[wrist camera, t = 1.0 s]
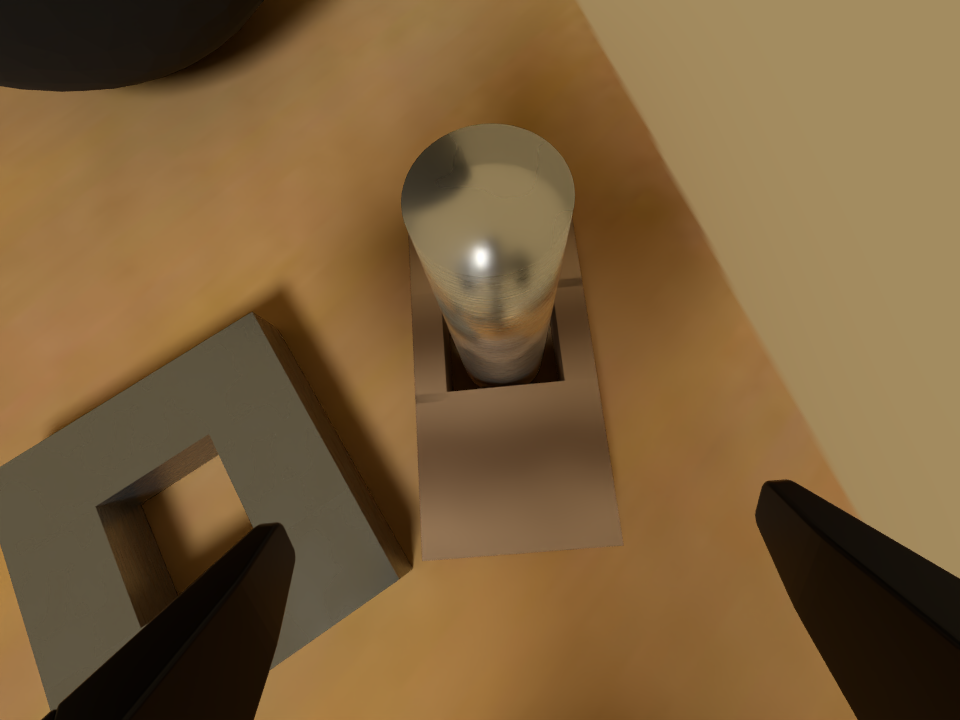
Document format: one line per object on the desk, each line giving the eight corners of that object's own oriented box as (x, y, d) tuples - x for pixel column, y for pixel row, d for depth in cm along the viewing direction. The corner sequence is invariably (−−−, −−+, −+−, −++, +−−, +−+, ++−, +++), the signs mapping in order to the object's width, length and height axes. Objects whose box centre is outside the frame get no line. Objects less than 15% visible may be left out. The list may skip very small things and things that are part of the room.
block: (412, 568, 20) (399, 579, 18) (133, 764, 19) (78, 803, 17) (278, 329, 24) (252, 311, 22) (36, 479, 23) (-20, 478, 21)
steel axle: (558, 364, 23) (611, 211, 10) (491, 409, 22) (461, 308, 10) (512, 303, 24) (508, 96, 11) (448, 345, 23) (370, 179, 11)
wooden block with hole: (610, 538, 20) (623, 545, 18) (433, 552, 21) (422, 560, 18) (558, 192, 25) (563, 161, 23) (416, 209, 26) (406, 180, 23)
